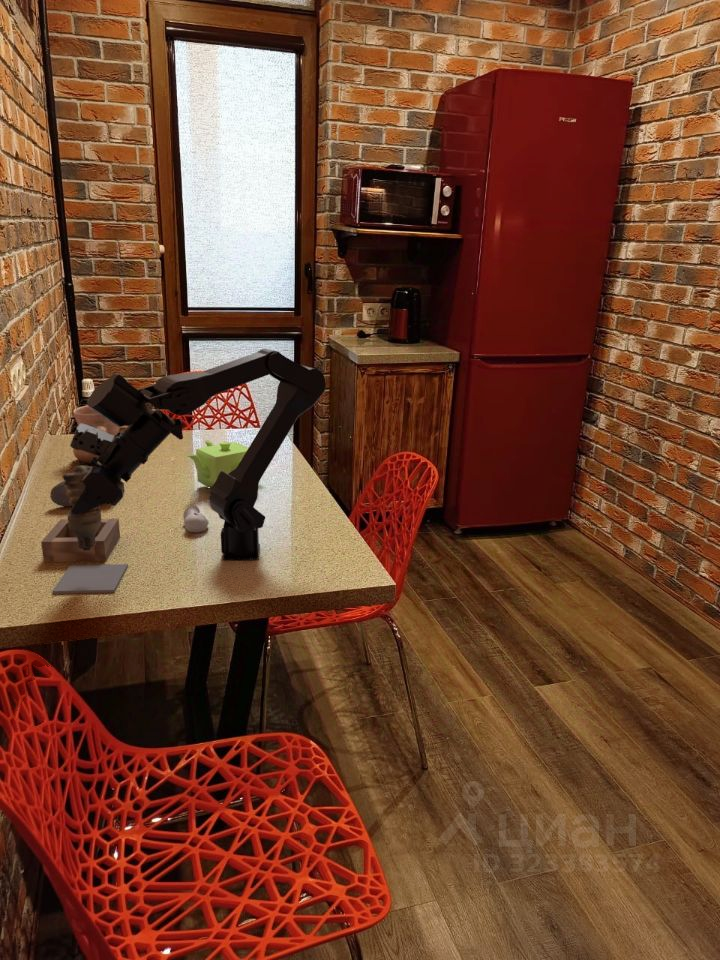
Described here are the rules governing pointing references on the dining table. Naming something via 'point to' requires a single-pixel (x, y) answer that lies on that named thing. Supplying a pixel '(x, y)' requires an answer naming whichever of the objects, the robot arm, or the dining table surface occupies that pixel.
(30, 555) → the dining table surface
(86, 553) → the socket block
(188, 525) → the pale two-lobed sculpture
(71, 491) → the light bulb
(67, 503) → the perforated stone tool
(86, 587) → the rubber mat
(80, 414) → the ceramic jug
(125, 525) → the dining table surface
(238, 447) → the kettle
